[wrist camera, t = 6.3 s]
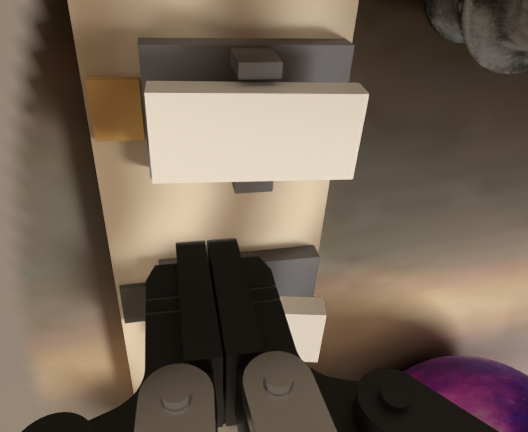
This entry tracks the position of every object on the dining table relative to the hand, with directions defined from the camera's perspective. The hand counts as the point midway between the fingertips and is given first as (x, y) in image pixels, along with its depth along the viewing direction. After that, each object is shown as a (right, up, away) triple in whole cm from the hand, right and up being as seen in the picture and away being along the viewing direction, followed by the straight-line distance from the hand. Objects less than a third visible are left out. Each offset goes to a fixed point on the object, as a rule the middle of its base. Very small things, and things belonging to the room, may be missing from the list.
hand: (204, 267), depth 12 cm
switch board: (-1, -2, +15) cm, 15 cm away
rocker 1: (+1, +5, +7) cm, 8 cm away
